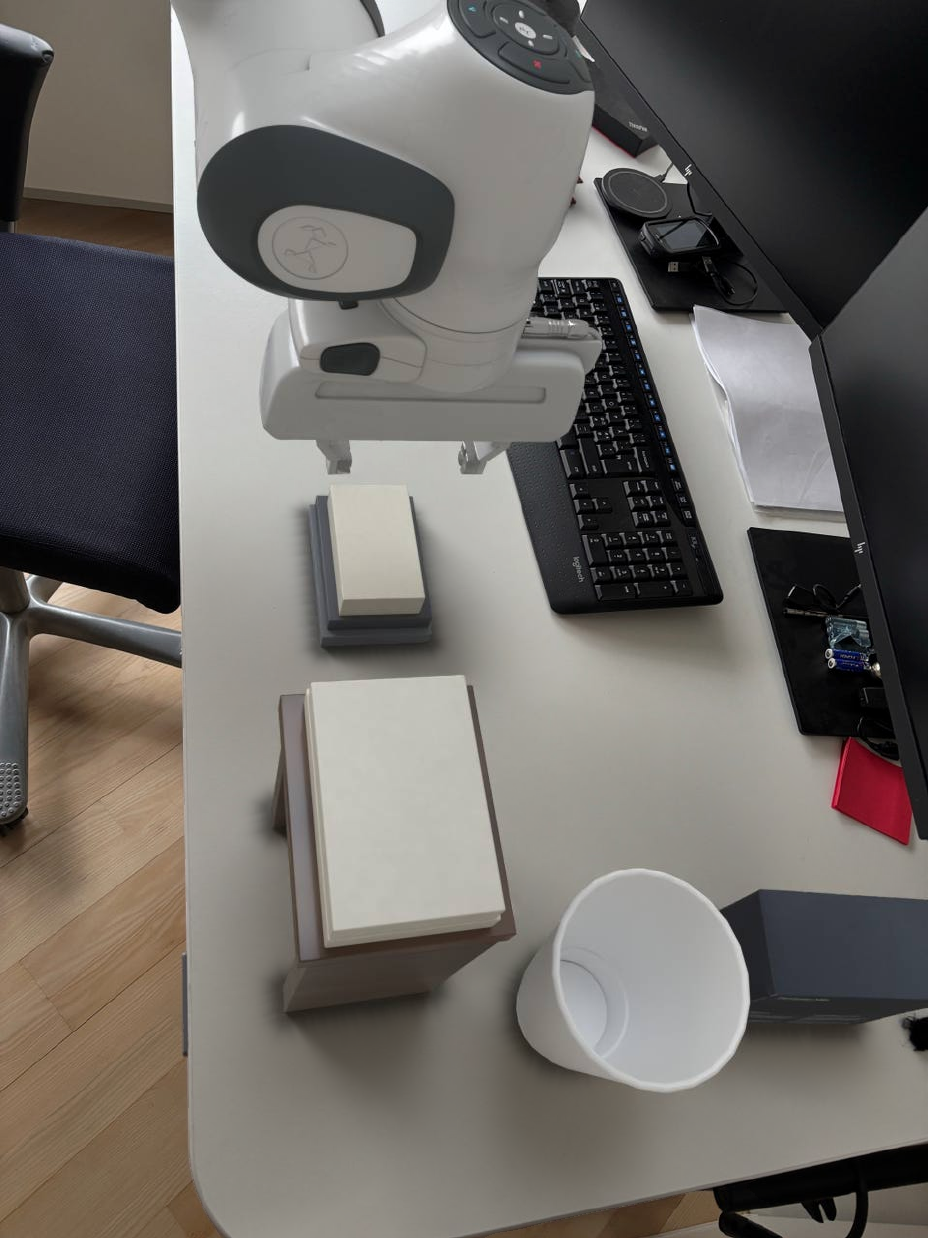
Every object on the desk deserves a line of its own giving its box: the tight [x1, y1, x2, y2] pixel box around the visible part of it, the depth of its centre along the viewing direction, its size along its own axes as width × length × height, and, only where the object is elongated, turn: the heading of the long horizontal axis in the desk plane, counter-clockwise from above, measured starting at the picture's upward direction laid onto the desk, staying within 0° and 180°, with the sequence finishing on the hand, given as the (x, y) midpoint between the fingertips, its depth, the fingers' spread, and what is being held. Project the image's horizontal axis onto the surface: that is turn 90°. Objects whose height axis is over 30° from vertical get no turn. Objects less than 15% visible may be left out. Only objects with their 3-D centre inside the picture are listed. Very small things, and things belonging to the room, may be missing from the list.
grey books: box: [307, 495, 433, 647], centre depth 77 cm, size 13×9×3 cm
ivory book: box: [327, 484, 425, 616], centre depth 75 cm, size 11×6×3 cm, turn 9°
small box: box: [718, 888, 928, 1026], centre depth 64 cm, size 13×7×12 cm, turn 90°
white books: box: [304, 674, 505, 948], centre depth 47 cm, size 13×8×4 cm, turn 9°
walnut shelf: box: [271, 684, 518, 1013], centre depth 57 cm, size 14×11×20 cm
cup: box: [515, 867, 750, 1094], centre depth 58 cm, size 12×12×16 cm
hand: (404, 467), depth 64 cm, fingers open, 8 cm apart
